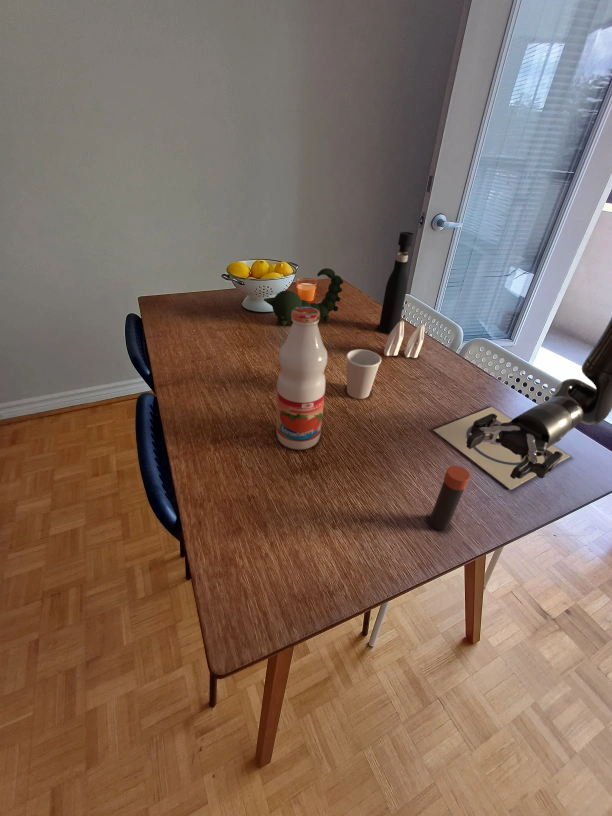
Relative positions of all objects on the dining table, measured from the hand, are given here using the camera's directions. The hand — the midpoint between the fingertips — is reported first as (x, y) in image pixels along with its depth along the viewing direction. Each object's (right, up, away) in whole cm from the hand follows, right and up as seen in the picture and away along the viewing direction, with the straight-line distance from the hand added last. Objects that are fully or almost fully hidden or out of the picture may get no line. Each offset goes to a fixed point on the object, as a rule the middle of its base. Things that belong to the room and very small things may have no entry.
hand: (490, 458), depth 67 cm
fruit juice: (-33, +2, +18) cm, 37 cm away
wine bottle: (-4, +34, +65) cm, 74 cm away
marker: (-8, -11, +1) cm, 14 cm away
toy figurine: (-33, +36, +65) cm, 81 cm away
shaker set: (-3, +24, +50) cm, 55 cm away
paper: (+11, +1, +20) cm, 23 cm away
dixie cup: (-18, +12, +33) cm, 40 cm away
